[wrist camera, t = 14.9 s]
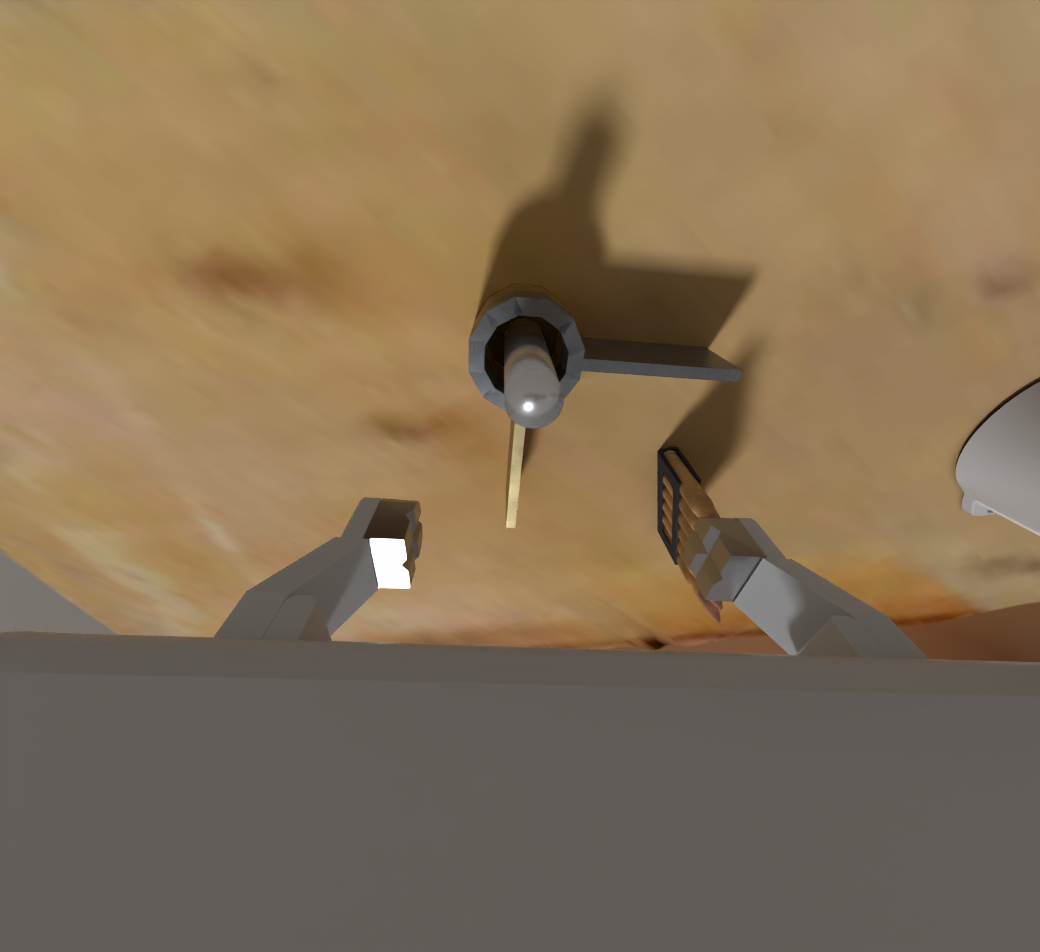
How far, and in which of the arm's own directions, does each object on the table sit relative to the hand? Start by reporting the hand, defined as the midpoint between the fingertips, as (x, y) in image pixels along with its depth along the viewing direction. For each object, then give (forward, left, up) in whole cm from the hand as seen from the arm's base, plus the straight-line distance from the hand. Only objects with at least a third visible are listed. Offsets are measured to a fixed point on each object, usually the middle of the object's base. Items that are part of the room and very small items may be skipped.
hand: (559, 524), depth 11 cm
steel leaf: (-5, 0, -21) cm, 22 cm away
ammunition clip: (-16, +14, -22) cm, 30 cm away
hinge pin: (0, 0, -21) cm, 21 cm away
